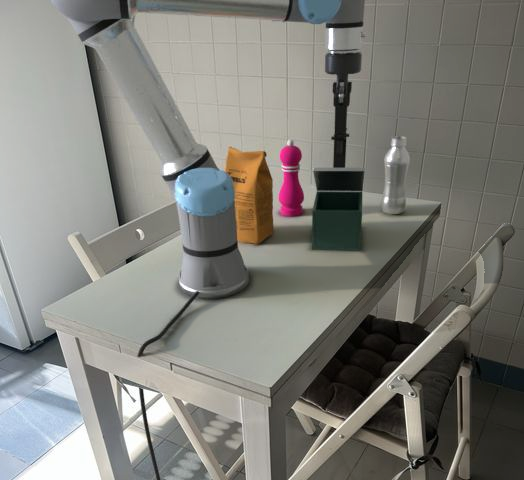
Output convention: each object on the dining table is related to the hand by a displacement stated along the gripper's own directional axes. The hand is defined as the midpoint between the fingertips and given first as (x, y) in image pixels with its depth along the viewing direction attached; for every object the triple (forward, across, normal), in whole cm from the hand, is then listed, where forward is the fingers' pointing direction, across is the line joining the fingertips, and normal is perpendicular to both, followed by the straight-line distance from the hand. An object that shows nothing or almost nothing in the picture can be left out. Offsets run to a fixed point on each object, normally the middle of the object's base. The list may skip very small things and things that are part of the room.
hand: (339, 168), depth 122 cm
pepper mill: (+19, +21, +14) cm, 31 cm away
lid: (+4, +4, 0) cm, 6 cm away
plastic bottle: (+19, +22, -15) cm, 33 cm away
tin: (+18, +3, 0) cm, 19 cm away
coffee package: (+19, +4, +23) cm, 30 cm away
